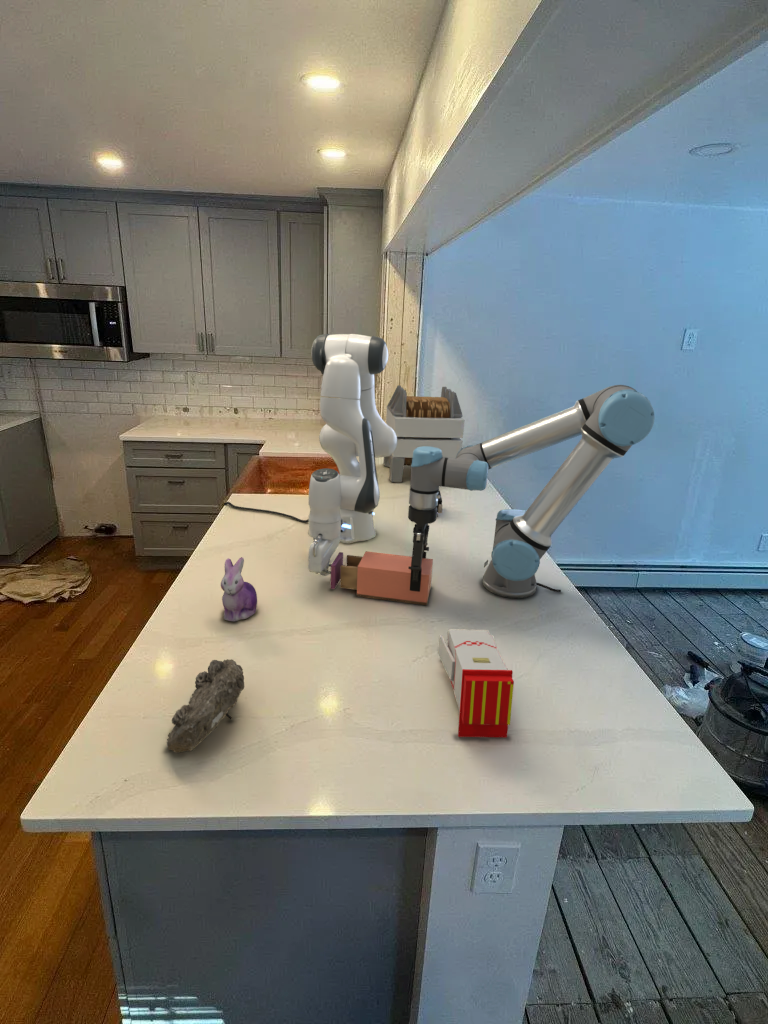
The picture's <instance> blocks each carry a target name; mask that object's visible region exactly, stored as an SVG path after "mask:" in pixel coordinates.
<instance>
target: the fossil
mask: <svg viewBox="0 0 768 1024" xmlns="http://www.w3.org/2000/svg"><path fill="white" fill-rule="evenodd" d="M243 670H244V669H243V667H242V665H240V664H237V662H236V661H235V660H234V659H232V658H231V659H227V658H226V659H224V660H223V661H222V660H217V659H212V660H211V661H210V663H209V665H208V666H207V671H201V672H199V673H198V674H197V675H196V676H195V680H194V684H195V685H194V687H195V689H194V690H193V693H192V694H191V697H190V698H189V700H188V704H184V705H182V706H181V707H180V709H177V710H176V711H175V713H174V715H173V716H172V718H171V723H172V724H173V727H172V730H171V731H170V732H168V734H167V738H166V741H167V742H166V745H167V749H168V750H169V751H173V752H174V753H176V754H178V753H182V752H188V751H189V752H192V751H193V750H195V748H196V747H197V746H199V744H200V743H201V742H203V741H204V740H205V739H206V738H207V737H208V736H209V735H210V734H211V733H212V732H214V730H215V729H217V727H218V726H219V724H220V722H221V721H222V720H223V719H224V718H225V716H226V717H227V719H229V720H233V717H232V715H230V714H229V710H230V709H231V708H234V706H235V704H236V703H237V702H238V699H239V697H240V695H241V693H242V691H243V690H245V689H244V688H245V675H244V671H243Z"/></svg>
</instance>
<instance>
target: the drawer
mask: <svg viewBox="0 0 768 1024" xmlns="http://www.w3.org/2000/svg"><path fill="white" fill-rule="evenodd" d="M362 557H363V556H361V555H352V554H346V565H344V552H342V551H339V552H338V553H337V555H336V557H335V558H334V559H333V561H332V563H329V568H330V570H329V571H325V570H323V571H322V572H321V573H326V575H330V590H336V588H337V586H338V585H340V586H339V588H340V589H347V590H356V591H357V571H358V565H359V563H360V561H361V559H362ZM315 574H316V575H317V574H319V573H315ZM339 583H340V584H339Z"/></svg>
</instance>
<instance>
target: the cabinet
mask: <svg viewBox="0 0 768 1024" xmlns="http://www.w3.org/2000/svg"><path fill="white" fill-rule="evenodd" d="M361 557H362V559H361V561H360V563H359V565H358V571H357V590H356V597H359V598H367V599H375V600H382V601H389V602H395V603H396V602H397V603H403V604H404V603H405V604H413V605H420V606H428V602H429V597H430V593H431V588H432V577H433V564H434V559H433V558H427V557H426V558H422V564H421V568H422V572H421V584H420V592H417V591H410V578H411V569H408V568H409V567H411V560H412V555H402V554H393V553H385V552H376V551H368V550H365V552H364V554H363V556H361Z"/></svg>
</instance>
